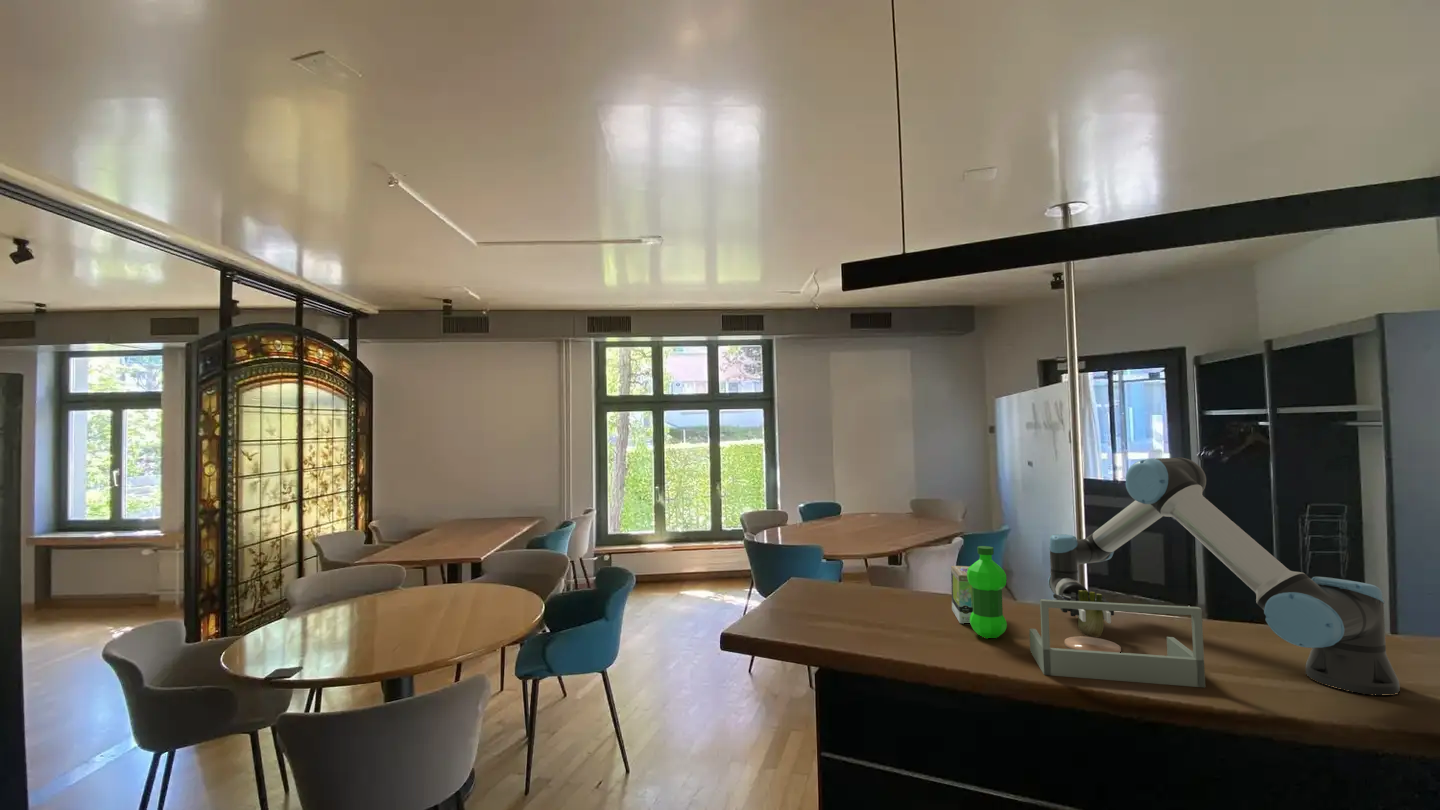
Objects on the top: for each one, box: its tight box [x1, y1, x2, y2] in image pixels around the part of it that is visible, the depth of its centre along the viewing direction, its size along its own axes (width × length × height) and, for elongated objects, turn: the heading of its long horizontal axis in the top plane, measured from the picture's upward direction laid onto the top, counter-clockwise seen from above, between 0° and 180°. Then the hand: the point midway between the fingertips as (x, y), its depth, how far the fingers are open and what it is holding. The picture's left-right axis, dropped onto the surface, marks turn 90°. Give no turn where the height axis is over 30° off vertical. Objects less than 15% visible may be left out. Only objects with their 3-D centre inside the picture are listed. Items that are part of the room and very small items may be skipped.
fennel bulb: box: [1077, 590, 1105, 638], centre depth 170 cm, size 6×5×12 cm
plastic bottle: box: [967, 545, 1008, 639], centre depth 181 cm, size 10×10×25 cm
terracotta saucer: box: [1064, 635, 1122, 653], centre depth 170 cm, size 13×13×1 cm
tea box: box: [950, 565, 973, 624], centre depth 198 cm, size 15×10×15 cm, turn 168°
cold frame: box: [1029, 598, 1206, 688], centre depth 155 cm, size 16×33×18 cm, turn 74°
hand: (1096, 617), depth 165 cm, fingers closed on fennel bulb, 5 cm apart
